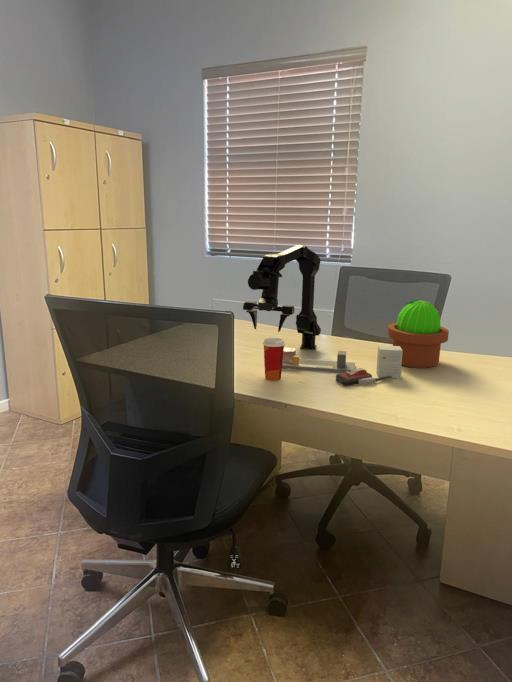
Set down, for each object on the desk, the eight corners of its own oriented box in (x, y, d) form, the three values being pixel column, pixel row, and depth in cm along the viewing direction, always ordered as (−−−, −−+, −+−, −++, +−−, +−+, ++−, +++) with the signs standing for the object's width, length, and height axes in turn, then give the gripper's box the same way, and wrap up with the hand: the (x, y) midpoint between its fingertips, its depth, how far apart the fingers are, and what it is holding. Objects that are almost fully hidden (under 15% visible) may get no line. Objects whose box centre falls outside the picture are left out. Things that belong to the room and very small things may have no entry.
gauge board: (277, 360, 205) (277, 344, 204) (354, 365, 199) (355, 350, 198) (273, 367, 196) (273, 351, 194) (354, 373, 190) (355, 357, 188)
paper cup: (272, 373, 189) (273, 336, 186) (288, 378, 184) (289, 340, 180) (257, 378, 184) (257, 339, 180) (273, 383, 179) (274, 344, 175)
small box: (398, 373, 191) (400, 345, 188) (400, 378, 186) (403, 350, 183) (375, 372, 192) (378, 345, 189) (377, 377, 186) (380, 349, 184)
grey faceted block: (283, 358, 202) (283, 347, 201) (295, 359, 201) (295, 348, 200) (280, 364, 195) (280, 352, 194) (292, 365, 194) (293, 353, 193)
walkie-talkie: (346, 390, 175) (393, 381, 183) (347, 377, 173) (394, 369, 182) (331, 382, 182) (376, 374, 191) (332, 370, 181) (377, 362, 190)
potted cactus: (456, 367, 199) (464, 302, 193) (408, 372, 192) (414, 306, 185) (420, 351, 219) (426, 292, 213) (375, 356, 212) (379, 295, 205)
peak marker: (293, 362, 196) (294, 355, 195) (299, 363, 195) (299, 355, 195) (293, 364, 194) (293, 356, 193) (298, 364, 194) (298, 357, 193)
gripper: (240, 288, 189) (237, 330, 192) (291, 293, 185) (287, 336, 187) (248, 286, 200) (245, 326, 202) (296, 291, 195) (292, 332, 198)
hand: (267, 330), depth 197 cm, fingers open, 9 cm apart
